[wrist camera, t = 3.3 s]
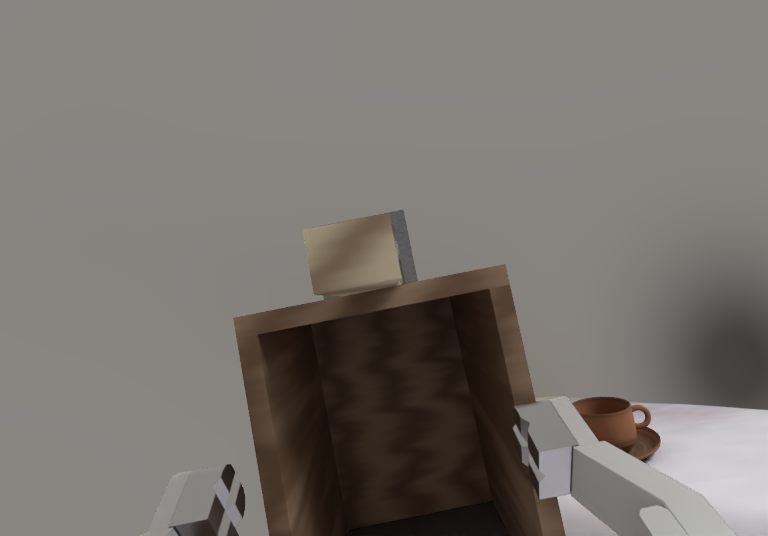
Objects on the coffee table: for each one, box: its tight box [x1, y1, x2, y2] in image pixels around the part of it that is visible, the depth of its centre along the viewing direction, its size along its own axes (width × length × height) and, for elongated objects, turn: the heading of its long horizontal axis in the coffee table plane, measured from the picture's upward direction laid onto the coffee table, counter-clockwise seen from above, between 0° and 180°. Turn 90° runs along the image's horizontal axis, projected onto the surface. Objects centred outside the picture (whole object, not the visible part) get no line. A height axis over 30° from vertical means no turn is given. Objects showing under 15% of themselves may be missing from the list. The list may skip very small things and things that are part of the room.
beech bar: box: [302, 213, 402, 296], centre depth 32 cm, size 4×28×3 cm, turn 179°
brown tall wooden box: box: [233, 264, 565, 536], centre depth 38 cm, size 20×21×26 cm
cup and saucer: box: [572, 397, 661, 460], centre depth 53 cm, size 12×12×6 cm
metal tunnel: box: [313, 210, 418, 300], centre depth 37 cm, size 8×10×6 cm
